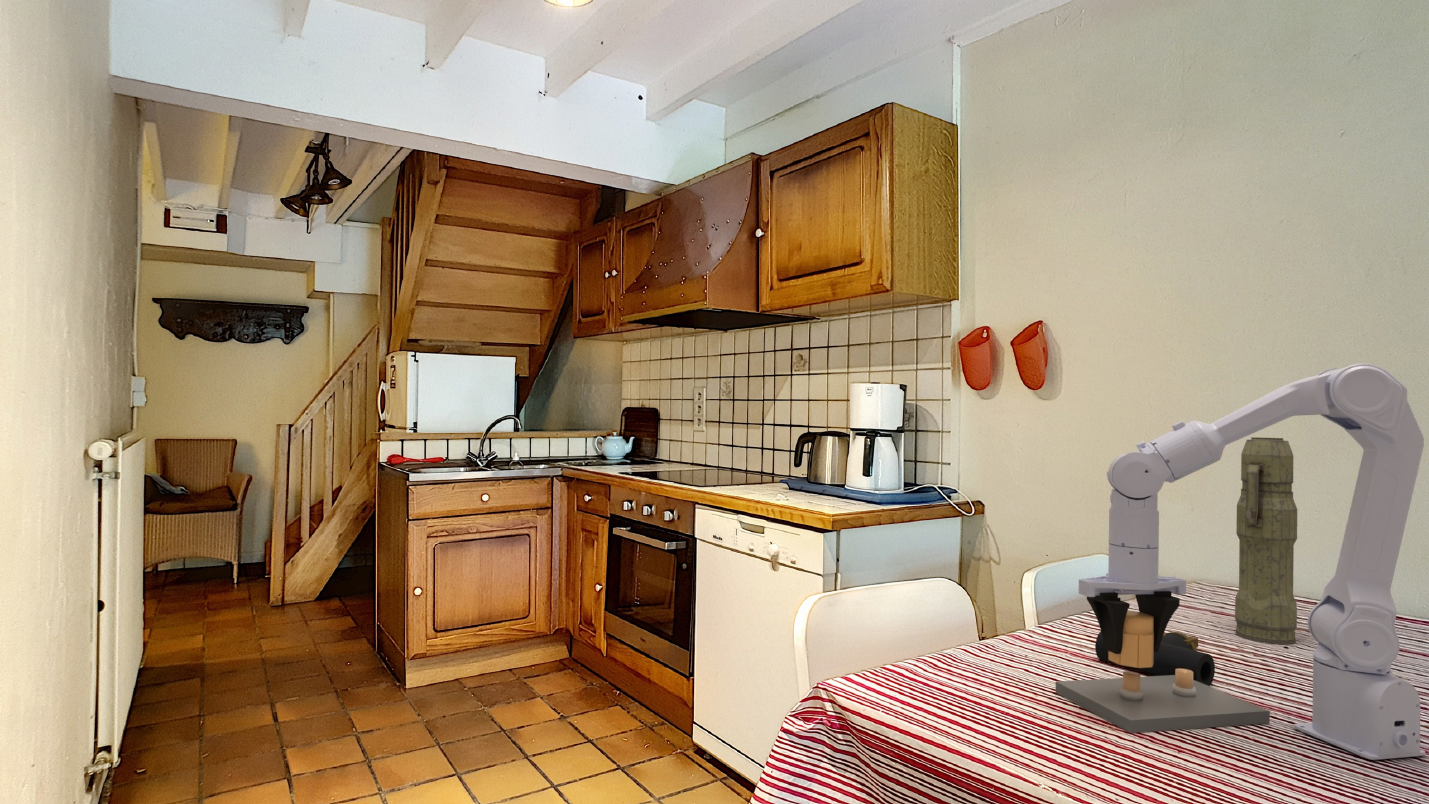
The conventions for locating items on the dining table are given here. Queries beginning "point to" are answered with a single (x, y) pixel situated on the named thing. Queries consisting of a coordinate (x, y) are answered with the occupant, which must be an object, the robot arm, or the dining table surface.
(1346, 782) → the dining table surface
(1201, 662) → the pipe connector
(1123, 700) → the board
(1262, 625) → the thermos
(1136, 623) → the wire cap
